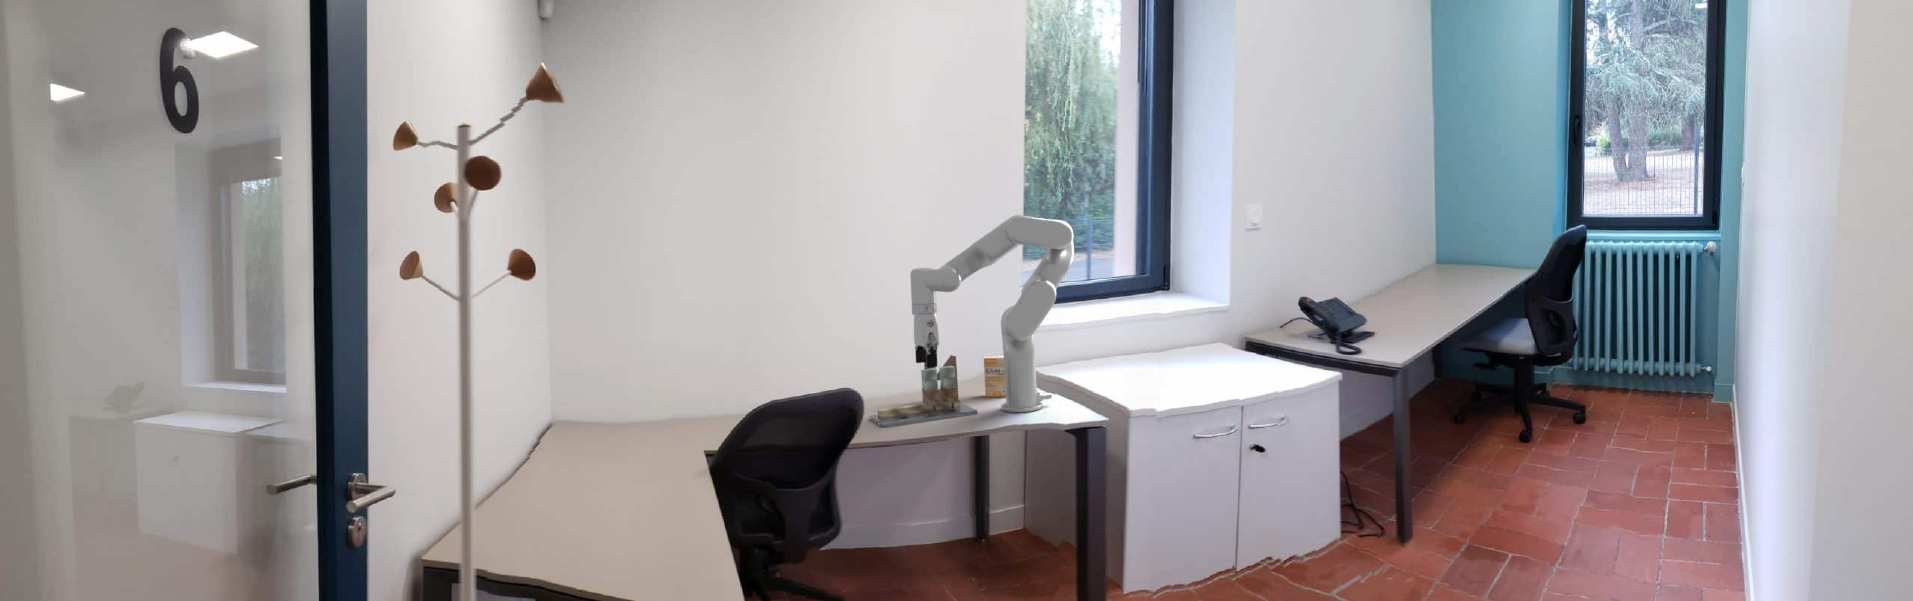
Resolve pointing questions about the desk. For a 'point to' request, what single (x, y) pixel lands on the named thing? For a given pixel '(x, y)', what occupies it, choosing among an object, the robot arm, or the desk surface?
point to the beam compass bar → (947, 401)
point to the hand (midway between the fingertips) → (926, 364)
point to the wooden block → (949, 362)
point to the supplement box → (994, 376)
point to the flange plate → (924, 416)
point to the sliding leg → (930, 387)
